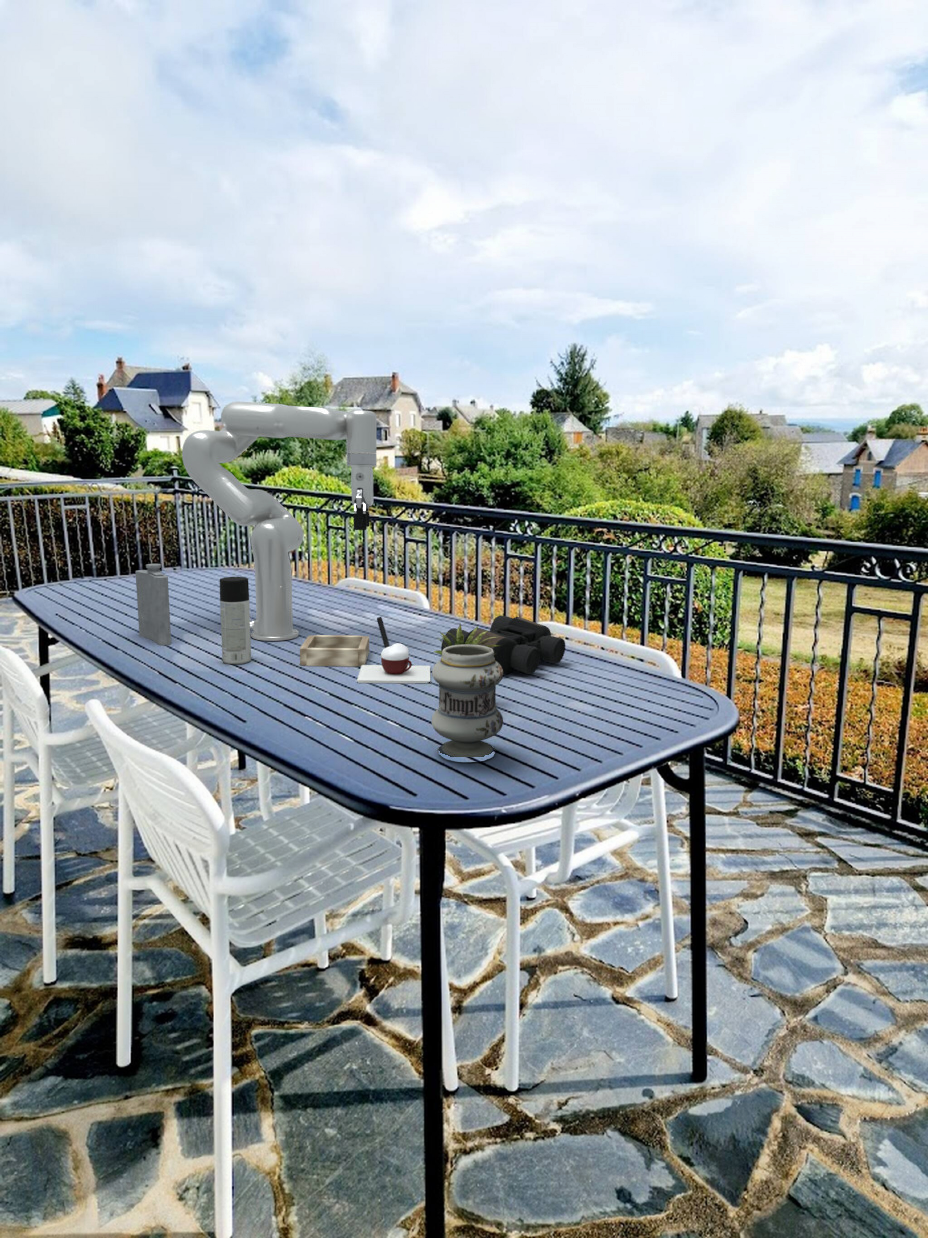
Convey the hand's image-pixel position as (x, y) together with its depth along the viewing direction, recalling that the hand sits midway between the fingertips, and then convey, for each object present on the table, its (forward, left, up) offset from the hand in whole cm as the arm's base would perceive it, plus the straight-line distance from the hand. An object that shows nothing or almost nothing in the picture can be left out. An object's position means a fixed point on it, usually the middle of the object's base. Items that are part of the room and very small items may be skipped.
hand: (361, 528), depth 206 cm
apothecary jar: (+24, -80, -31) cm, 89 cm away
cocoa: (+10, -32, -30) cm, 45 cm away
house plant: (+24, -53, -31) cm, 66 cm away
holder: (-5, -17, -30) cm, 35 cm away
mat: (+10, -32, -30) cm, 45 cm away
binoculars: (+37, -21, -31) cm, 52 cm away
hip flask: (-54, +1, -31) cm, 62 cm away
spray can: (-28, -21, -31) cm, 46 cm away
